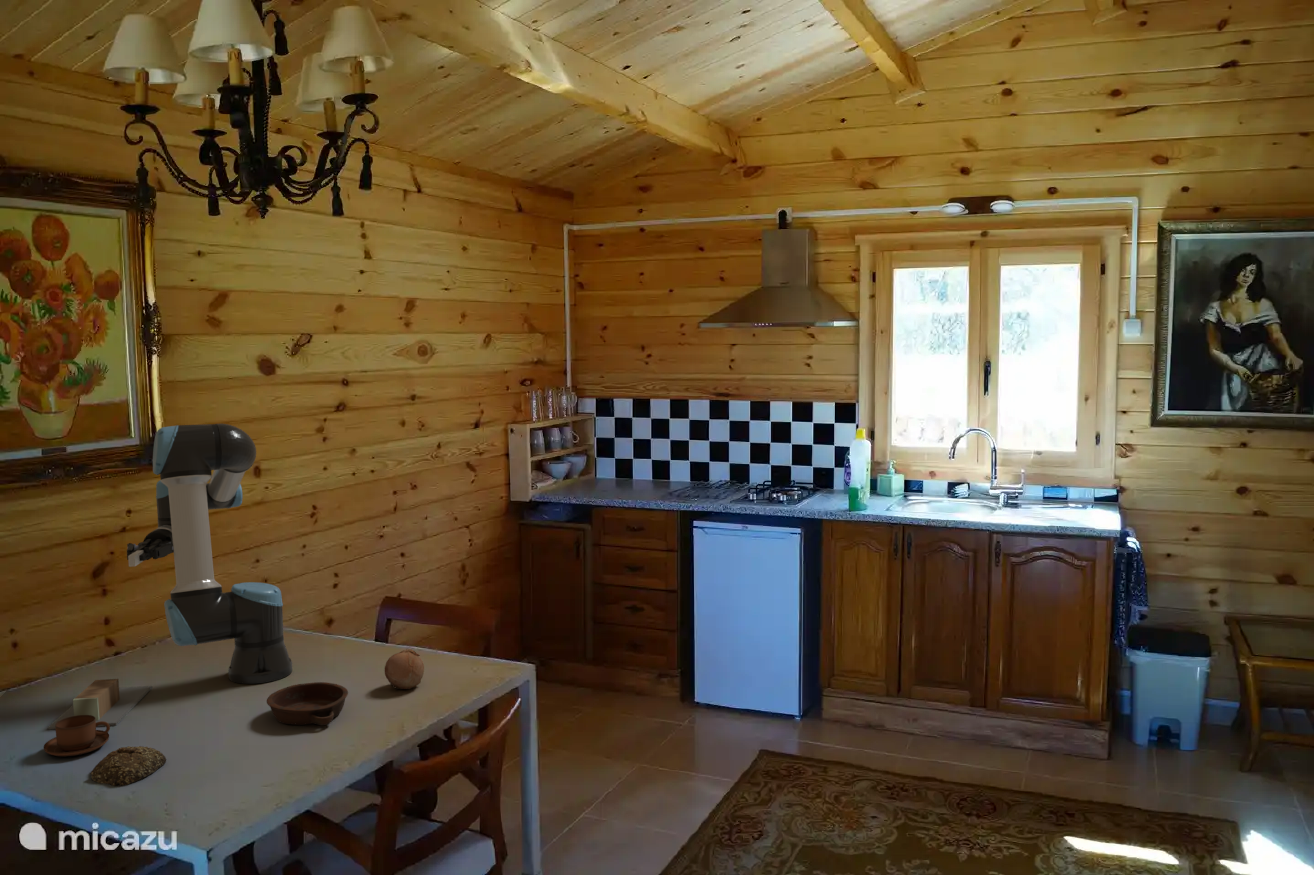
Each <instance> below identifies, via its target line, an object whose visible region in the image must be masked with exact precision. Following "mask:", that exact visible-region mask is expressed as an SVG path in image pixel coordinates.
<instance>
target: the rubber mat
mask: <svg viewBox="0 0 1314 875" xmlns="http://www.w3.org/2000/svg"><path fill="white" fill-rule="evenodd" d="M152 689H153V685H143V686H142V685H141V686H122V687H120V686H119V696H120V699H119V700H118V701H117V702H116V703H115V704H114V705H113V706H112V707H111V708H110V709H109V710H108V711H107V712H106V713H105V714H104V715H103V716H102V717H101V718H100V719H99V720H96V723H97V722H101V721H104V722H107V723H108V724H109V726H110V727H113V726H117V725H118V724H119V723H120V722H121V721H122V720H123V719H124V718H125V717H126V716H127V715H128V714H129V713H130V712H131V711H132V710H133V708H135V707H136V706H137V705H138V703H140V701H141V700H142V699H143V698H145V696H146V695H147V694H148V693H149V692H150V691H151V690H152ZM71 716H74V706H73V704H72V705H71V706H70V707H68V708H67V710H66V711H64V712H63V713H61V715H60V716H59V717H57V718H56V719H55V720H54V721H53V722H52V723H51V724H50V725H49V726H48V727H47V729H48V730H56V728H55V724H56V723H57V722H58V721H60V720H62V719H64V718H68V717H71ZM97 727H106V726H105V725H103V724H102V725H98V726H97ZM97 727H96V728H97Z"/></svg>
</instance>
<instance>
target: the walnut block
mask: <svg viewBox="0 0 1314 875" xmlns="http://www.w3.org/2000/svg"><path fill="white" fill-rule="evenodd" d="M119 687H120V683H119V678H110V679H109V678H108V679H95V680H94V681H93V682H91V683H90V684H89V685H88V686H87V687H86V688H85V689H83V690H82V691H81V692H80V693H79V694H78V695H77V696H76V697H75V698H73V699H72V705H73V706H74V716H77V715H92V716H94V717H95V719H96V720H99V719H100V718H101V717H102V716H103V715H104V714H105V713H106V712H107V711H108V710H109V709H110V708H111V707H112V706H113V705H114V704H115V703H116V702H117V701H118V700H119V699H120V696H119Z"/></svg>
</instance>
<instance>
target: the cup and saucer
mask: <svg viewBox="0 0 1314 875" xmlns="http://www.w3.org/2000/svg"><path fill="white" fill-rule="evenodd" d="M102 724H103V725H105V726H104V727H106V728H105V730H103V729H102V730H101V729H97V726H98V725H102ZM55 728H56V729H55V737H53V738H51V739H49V740H48V741H46V742H45V743H44V744H43V751H44V752H45V753H47V754H48V755H51V756H56V757H74V756H75V757H76V756H78V755H79V756H81V755H83V754H87V753H90V752H93V751H96V750H98V749H99V748H101V747H102V746H104V745H105V744H106V743H107V742H108V741H109V738H110V734H109V732H110V729H111V726H109V724H108V723H107V722H104V721H101V722H97V723H96V719H95V717H94V716H92V715H77V716H71V717H68V718H64V719H62V720H60V721H58V722H57V723H56V724H55Z"/></svg>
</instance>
